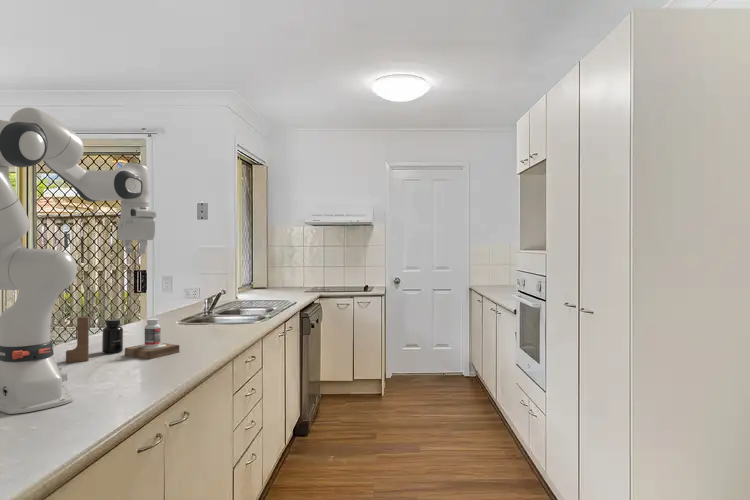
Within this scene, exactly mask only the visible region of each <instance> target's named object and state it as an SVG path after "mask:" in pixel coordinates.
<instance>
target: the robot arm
mask: <svg viewBox="0 0 750 500" xmlns="http://www.w3.org/2000/svg"><path fill="white" fill-rule="evenodd" d="M84 146H85V145H84V141H83V139H82V138H81V136H79V135H78V134H77V133H76V132H75V131H74V130H73V129H71V128H70V127H69V126H67V125H66V124H64V123H63V122H61V121H60V120H58V119H57V118H56V117H53V116H51V115H50V114H48V113H46V112H44V111H42V110H39V109H37V108H34V107H24V108H20V109H18V110H17V111H15V112H14V113H13V114H12V116H11V117H10V118H9V120H4V119H3V120H2V119H0V291H18V293H17V297H16V300H15V302H14V303H13V305H12V306H10V307H7V308H6V309H4V310H3V311H2V313H1V314H0V412H2V413H4V414H8V415H15V414H23V413H24V414H25V413H29V412H36V411H40V410H41V411H42V410H46V409H51V408H54V407H55V408H56V407H59V406H62V405H66V404H69V403H71V402H73V399H74V398H73V396H72V395H71V393H70V391H69V389H68V387H67V386H66V385H65V384H63V383H64V382H67V381H68V372H62V367H63V366H61V365H59V366H58V362H57V359H56V358H54V354H55V353H54V345H53V340H52V339H51V328H52V327H51V326H52V314H53V309H54V306H55V304H56V301H57V300H58V298H59V296H60V295H61V294H62V293H63V291H65V290H66V289H67V288H68V287H70V286H71V285H72V283H73V282H74V280H75V279H76V277H77V273H78V266H77V263H76V259H74V257H73V256H72V255H71V254H70V253H68V252H64V251H62V250H58V249H52V248H26V247H25V246H24V245H23V243H22V238H23V237H25V236H26V235H27V232H29V229H30V226H31V222H30V219H29V217H28V214H27V213H26V210H25V209H24V207H23V204H22V202H21V200H20V198H19V196H18V194H17V192H16V190H15V188H14V186H13V185H12V183H11V180H10V176H9V175H10V174H9V171H10V167H11V168H12V167H17V168H28V167H33V166H36V165H38V164H39V163H41V161H43V162H44V164H45V166H46V167H47V168H48V169H50V170H51V171H52V172H53V173H54V174H55V175H57V176H58V177H59V178H61V179H62V180H64V181H65V182H66V183H67V184H69V186H71V187H72V188H73V189H74V191H75V192H76V193H77V194H78V196H79V197H80V198H82V199H83V200H85V201H86V202H89V203H94V202H101V201H103V202H105V201H120V217H121V218H120V219H118V224H117V240H119V241H123V247H124V248H125V254H126V255H128V254H129V255H132V254H133V248H132V241H138V244H139V246H138V249H137V254H138V255H145V254H146V249H147V245H148V241H153V240H154V238H155V234H156V220H155V218H157V211H156V210H154V209H153V208H151V204H150V203H151V202H150V197H149V196H150V192H151V179H150V174H149V169H148V167H147V166H145V165H144V164H141V163H136V162H125V163H123V165H122V166H120V167H119V168H115V169H109V170H107V169H106V170H104V169H103V170H102V169H101V170H95V169H93V170H91V169H85V168H83V167H82V166H81V165H79V162H80V161H81V159H82V157H83V155H84V152H85V150H84V149H85V147H84Z"/></svg>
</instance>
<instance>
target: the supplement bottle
mask: <svg viewBox="0 0 750 500" xmlns="http://www.w3.org/2000/svg"><path fill="white" fill-rule="evenodd" d="M101 337H102V340H101V341H102V342H101V344H102V345H101V346H102V347H101V349H102V350H101V352H102V353H103V354H107V355H108V354H110V355H111V354H119V353H122V352H123V351H124V350H123V348H124V328H123V327H122V326H121V319H118V318H115V319H114V318H112V319H111V318H110V319H106V320H105V327H103V328H102V336H101Z"/></svg>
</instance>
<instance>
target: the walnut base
mask: <svg viewBox="0 0 750 500" xmlns="http://www.w3.org/2000/svg"><path fill="white" fill-rule="evenodd" d="M177 353H180V344H172V343H165V342H160V345H159V346H154V347H146V346H145V343H143V344H138V345H134V346H129V347H124V356H128V357H132V358H134V357H135V358H141V359H147V360H152V359H156V358H161V357H165V356H169V355H173V354H177Z"/></svg>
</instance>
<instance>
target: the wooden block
mask: <svg viewBox="0 0 750 500" xmlns="http://www.w3.org/2000/svg"><path fill="white" fill-rule="evenodd" d="M89 318H90V317H89V316H77V319H76V320H77V322H76V323H77V324H76V325H77V326H76V327H77V328H76V329H77V330H76V331H77V332H76V333H77V335H76V337H77V338H76V339H77V340H76V347H75V348H73V349H67V350H66V351H65V363H66V364H69V363H79V362H89V356H90V354H89V353H90V352H89V347H90V346H89V343H90V342H89V337H90V336H89V335H90V333H89V332H90V331H89V328H90V327H89V325H90V324H89V322H90V321H89Z"/></svg>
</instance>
